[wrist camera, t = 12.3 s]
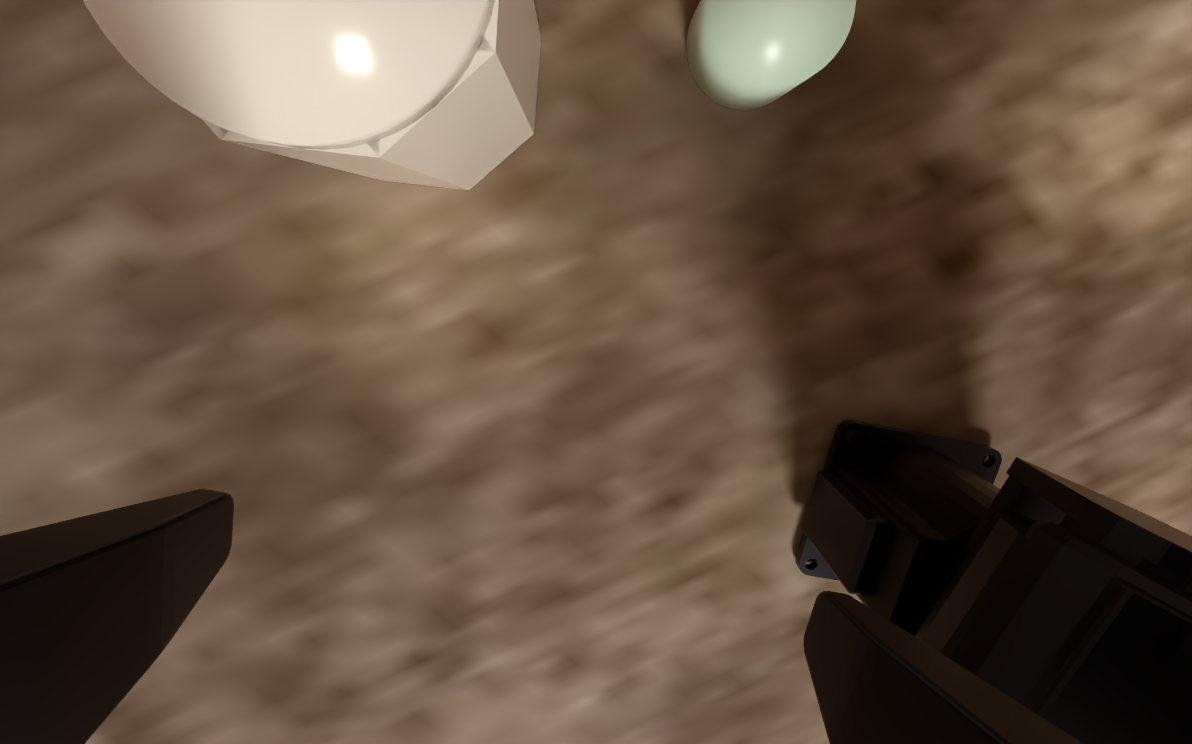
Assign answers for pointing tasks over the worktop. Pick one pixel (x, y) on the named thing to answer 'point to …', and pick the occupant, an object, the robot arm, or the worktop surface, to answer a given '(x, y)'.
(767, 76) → the pale green rounded knob
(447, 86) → the tumbler
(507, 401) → the worktop surface
